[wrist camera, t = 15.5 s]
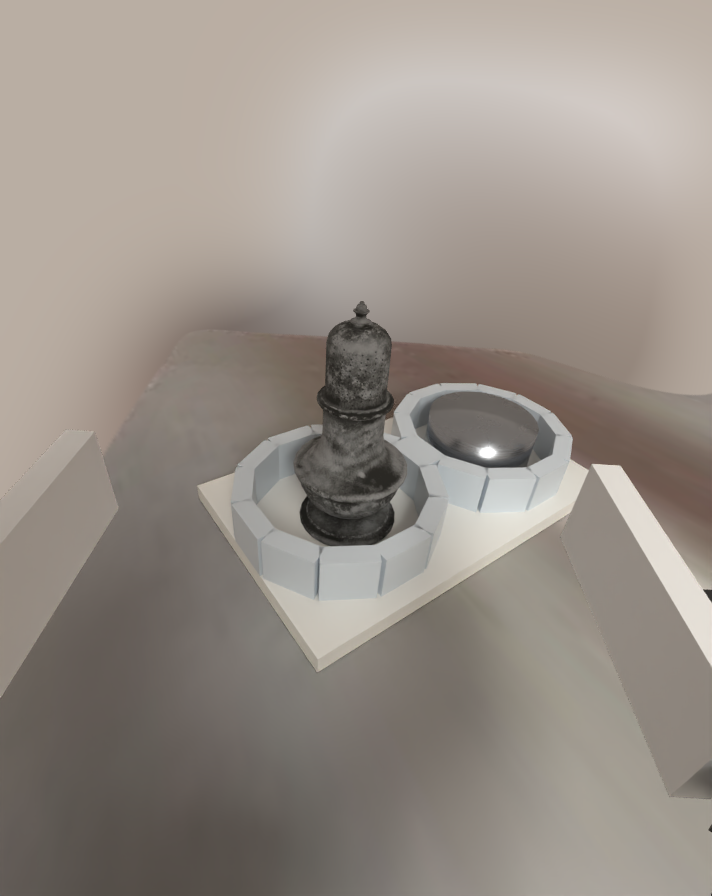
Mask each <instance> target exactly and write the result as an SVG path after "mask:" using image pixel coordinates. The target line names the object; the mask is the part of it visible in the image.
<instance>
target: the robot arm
mask: <svg viewBox="0 0 712 896" xmlns="http://www.w3.org/2000/svg"><path fill="white" fill-rule="evenodd" d="M118 509H119V507H118V504H117V501H116V498H115V494H114V491H113V488H112V485H111V482H110V478H109V475H108V472H107V469H106V465H105V462H104V459H103V456H102V452H101V449H100V446H99V443H98V440H97V437H96V433H95V431H81V430H65V431H64V432H63V433H62V434H61V435H60V436H59V437H58V438H57V440H56V441H55V442H54V443H53V444H52V445H51V446H50V447H49V448H48V449H47V450H46V451H45V452H44V453H43V454H42V456H41V457H40V458H39V459H38V460H37V461H36V462H35V463H34V464H33V465H32V466H31V467H30V468H29V470H28V471H27V472H26V473H25V474H24V475H23V476H22V477H21V478H20V479H19V480H18V481H17V482H16V483H15V484H14V486H13V487H12V488H11V489H10V490H9V491H8V492H7V493H6V494H5V495H4V496H3V497H2V498H1V499H0V698H1V697H2V695H3V694H4V692H5V690H6V689H7V687H8V686H9V684H10V682H11V681H12V679H13V678H14V676H15V674H16V673H17V671H18V670H19V668H20V666H21V665H22V663H23V662H24V660H25V658H26V657H27V655H28V654H29V652H30V650H31V649H32V647H33V645H34V644H35V642H36V641H37V639H38V637H39V636H40V634H41V633H42V631H43V629H44V628H45V626H46V625H47V623H48V621H49V620H50V618H51V617H52V615H53V613H54V612H55V610H56V609H57V607H58V605H59V604H60V602H61V601H62V599H63V597H64V596H65V594H66V593H67V591H68V589H69V588H70V586H71V585H72V583H73V581H74V580H75V578H76V577H77V575H78V573H79V572H80V570H81V569H82V567H83V565H84V564H85V562H86V561H87V559H88V557H89V556H90V554H91V553H92V551H93V549H94V548H95V546H96V545H97V543H98V541H99V540H100V538H101V537H102V535H103V533H104V532H105V530H106V529H107V527H108V525H109V524H110V522H111V520H112V519H113V517H114V516H115V514H116V512H117V511H118ZM560 538H561V540H562V543H563V545H564V547H565V550H566V552H567V555H568V557H569V559H570V562H571V564H572V566H573V569H574V571H575V574H576V576H577V578H578V581H579V583H580V585H581V588H582V590H583V593H584V595H585V597H586V600H587V602H588V604H589V607H590V609H591V612H592V614H593V616H594V619H595V621H596V623H597V626H598V628H599V631H600V633H601V635H602V638H603V640H604V642H605V645H606V647H607V650H608V652H609V654H610V657H611V659H612V661H613V664H614V666H615V669H616V671H617V673H618V676H619V678H620V680H621V683H622V685H623V688H624V690H625V692H626V695H627V697H628V700H629V702H630V704H631V707H632V709H633V711H634V714H635V716H636V719H637V721H638V723H639V726H640V728H641V730H642V733H643V735H644V738H645V740H646V742H647V745H648V747H649V749H650V752H651V754H652V757H653V759H654V761H655V764H656V766H657V768H658V771H659V773H660V776H661V778H662V780H663V783H664V785H665V787H666V790H667V792H668V795H669V797H683V798H699V799H711V798H712V590H704V589H702V588H701V586H700V585H699V583H698V582H697V580H696V579H695V577H694V576H693V574H692V573H691V571H690V570H689V568H688V567H687V565H686V564H685V562H684V561H683V559H682V558H681V556H680V555H679V553H678V552H677V550H676V549H675V547H674V545H673V544H672V542H671V541H670V539H669V538H668V536H667V535H666V533H665V532H664V530H663V529H662V527H661V526H660V524H659V523H658V521H657V520H656V518H655V517H654V515H653V514H652V512H651V511H650V509H649V508H648V506H647V505H646V503H645V502H644V500H643V499H642V497H641V496H640V494H639V493H638V491H637V490H636V488H635V487H634V485H633V484H632V482H631V481H630V479H629V478H628V476H627V475H626V473H625V472H624V470H623V469H622V467H621V466H616V465H601V464H591V467H590V469H589V471H588V474H587V476H586V478H585V481H584V483H583V485H582V487H581V490H580V492H579V494H578V497H577V499H576V501H575V504H574V506H573V508H572V511H571V513H570V515H569V518H568V520H567V522H566V525H565V527H564V529H563V532H562V534H561V536H560ZM709 831H711V832H712V825H711V826H710V828H709ZM711 896H712V894H711Z"/></svg>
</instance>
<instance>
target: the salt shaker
mask: <svg viewBox="0 0 712 896" xmlns="http://www.w3.org/2000/svg"><path fill="white" fill-rule="evenodd" d="M353 311H354V312H355V313H356V318H352V319H351V320H348V321H344V322H342V323H340V324H338V325H336V326H335V327H334V328H333V329H332V330H331V331H330V333H329V335H328V338H327V342H326V378H325V386H324V387H322V388H321V390H320V391H319V392H318V394H317V402H318V404H319V405H320V407H321V408H322V409H323V430H322V435H321V436H318V437H316V438H313V439H311V440H310V441H308V442H307V443H305V444H304V445H303V446H302V447H301V448H300V449H299V451H298V452H297V453H296V456H295V459H294V471H295V474H296V476H297V478H298V479H299V481H300V482H301V486H302V487H303V489H304V491H305V493H306V495H307V496H306V498H305V499H304V501H303V502H302V505H301V509H300V519H301V523H302V525H303V527H304V529H305V530H306V531H307V532H308V533H309V534H310V535H311V536H312V537H313V538H314V539H316V540H318V541H319V542H321V543H323V544H325V545H329V546H360V545H373V544H375V543H377V542H379V541H380V540H382V539H384V538H385V537H386V535H387V534H388V533H389V532H390V531H391V529H392V526H393V524H394V514H395V512H394V510H393V507H392V504H391V503H390V501H391V500H392V498H393V497H394V496H395V494H396V492H397V490H398V488H399V487H400V486H401V485H402V484H403V483H404V481H405V478H406V476H407V463H406V460H405V458H404V456H403V454H402V453H401V452H400V451H399V450H398V449H397V448H396V447H395V446H394V445H392V444H391V443H389V442H388V441H386V440H384V436H383V434H384V425H385V416H386V413H388V412H389V411H390V410H391V409H392V407H393V404H394V399H393V397H392V395H391V394H390V393H389V392H388V391H387V384H388V375H389V366H390V357H391V347H392V344H391V338H390V336H389V335H388V333H387V331H386V330H385V329H383V328H382V327H381V326H379V325H378V324H376V323H374V322H371V320H369V319H367V318H366V315H367V314H368V313H369V310H368V309H367V306H366V305H365V304H364V302H363V301H361V302H360V304H358V305H357V307H356V309H354V310H353Z"/></svg>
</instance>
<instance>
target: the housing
mask: <svg viewBox="0 0 712 896" xmlns="http://www.w3.org/2000/svg"><path fill="white" fill-rule="evenodd" d="M465 391H470V392H482V393H488V394H492V395H496V396H499V397H502V398H505V399H508V400H510V401H512V402H514V403H516V404H518V405H520V406H521V407H523V408H524V409H526V410H527V411H528V412H529V413H530V414H531V415H532V416H533V417H534V418H535V420H536V421H537V424H538V427H539V431H538V435H537V438H536V441H535V444H534V447H533V450H532V453H531V455H530V458H529V461H528V464H527V467H523V468H485V467H482V466H478V465H475V464H472V463H468V462H465V461H462V460H458V459H455V458H452V457H448V456H445V455H444V454H442V453H441V452H440V451H438V450H437V449H435V448H434V447H433V446H431V445H430V444H428V443H427V442H426V441H425V435H426V430H427V424H428V419H429V413H430V408H431V405H432V403H433V402H434V401H435V400H436V399H438V398H439V397H441V396H443V395H446V394H449V393H454V392H465ZM322 430H323V425H311V428H310V427H309V426H308V425H307V426H304V427H300V428H297V429H294V430H291V431H288V432H285V433H282V434H279V435H276V436H272V437H269V438H268V441H267V440H264V441H263V442H262V443H261V444H259V445H258V446H257V447H256V448H255V449H254V450H253V451H252V452H251V453H250V454H248V455H247V456H246V457H245V458H244V459H243V460H242V461H241V462H240V463H239V464H237V467H236V469H235V473H232V474H229V475H226V476H223V477H220V478H217V479H215V480H212V481H209V482H206V483H203V484H200V485H197V488H198V494H199V499H200V500H201V502H202V503H203V505H204V506H205V508H206V509H207V511H208V512H209V514H210V515H211V517H212V518H213V520H214V521H215V523H216V524H217V526H218V527H219V528H220V530H221V531H222V533H223V534H224V536H225V537H226V539H227V540H228V542H229V543H230V545H231V546H232V548H233V549H234V551H235V552H236V554H237V555H238V557H239V558H240V559H241V561H242V562H243V564H244V565H245V567H246V568H247V570H248V571H249V573H250V574H251V576H252V577H253V579H254V580H255V582H256V583H257V585H258V586H259V588H260V589H261V590H262V592H263V593H264V595H265V596H266V598H267V599H268V601H269V602H270V604H271V605H272V607H273V608H274V610H275V611H276V613H277V614H278V616H279V617H280V618H281V620H282V621H283V623H284V624H285V626H286V627H287V629H288V630H289V632H290V633H291V635H292V636H293V638H294V639H295V641H296V642H297V644H298V645H299V647H300V648H301V649H302V651H303V652H304V654H305V655H306V657H307V658H308V660H309V661H310V663H311V664H312V666H313V667H314V669H315V670H316V672H317V673H318V672H319V671H321V670H322V669H324V668H326V667H327V666H329V665H330V664H332V663H333V662H335V661H337V660H338V659H340V658H341V657H343V656H345V655H346V654H348V653H349V652H351V651H352V650H354V649H356V648H357V647H359V646H360V645H362V644H364V643H365V642H367V641H368V640H370V639H371V638H373V637H375V636H376V635H378V634H379V633H381V632H382V631H384V630H386V629H387V628H389V627H390V626H392V625H394V624H395V623H397V622H398V621H400V620H401V619H403V618H405V617H406V616H408V615H409V614H411V613H412V612H414V611H416V610H417V609H419V608H420V607H422V606H424V605H425V604H427V603H428V602H430V601H431V600H433V599H435V598H436V597H438V596H439V595H441V594H443V593H444V592H446V591H447V590H449V589H450V588H452V587H454V586H455V585H457V584H458V583H460V582H461V581H463V580H465V579H466V578H468V577H469V576H471V575H473V574H474V573H476V572H477V571H479V570H480V569H482V568H484V567H485V566H487V565H488V564H490V563H492V562H493V561H495V560H496V559H498V558H499V557H501V556H503V555H504V554H506V553H507V552H509V551H510V550H512V549H514V548H515V547H517V546H518V545H520V544H522V543H523V542H525V541H526V540H528V539H529V538H531V537H533V536H534V535H536V534H537V533H539V532H540V531H542V530H544V529H545V528H547V527H548V526H550V525H552V524H553V523H555V522H556V521H558V520H559V519H561V518H563V517H564V516H566V515H567V514H569V513H571V511H572V508H573V506H574V504H575V501H576V499H577V497H578V494H579V492H580V490H581V487H582V485H583V483H584V481H585V478H586V476H587V474H588V471H589V470H587V469H586V468H584V467H582V466H581V465H579V464H577V463H576V462H574V461H572V460H571V459H570V456H571V448H572V440H573V438H571V437H572V435H571V434H570V433H569V432H568V430H567V429H566V428H565V427H564V425H563V424H562V423H561V422H560V421H559V419H558V418H557V417H556V416H555V415H554V413H551V411H549V410H547V409H546V408H544V407H542V406H540V405H538V404H536V403H534V402H533V401H531V400H529V399H527V398H525V397H523V396H521V395H520V394H519V395H516V393H513V392H509V391H505V390H501V389H497V388H493V387H489V386H485V385H481V384H479V385H478V386H477V385H476V384H475V383H440V385H439V384H434V385H431V386H428V387H425V388H422V389H419V390H416V391H413V392H409V394H407V395H406V396H405V398H404V399H403V400H402V402H401V403H400V404H399V406H398V407H397V408H396V410H395V411H394V416H393V418H390V419H387V420H385V425H384V434H383V436H384V440H386V441H388V442H389V443H391V444H392V445H394V446H395V447H396V448H397V449H398V450H399V451H400V452H401V453H402V454H403V456H404V458H405V460H406V463H407V476H406V478H405V481H404V483H403V484H402V485H401V486H400V487H399V488H398V490H397V492H396V494H395V496H394V497H393V498H392V500H391V501H390V503H391V504H392V507H393V510H394V512H395V514H394V524H393V526H392V529H391V531H390V532H389V533H388V534H387V535H386V537H385V538H384V539H382V540H380V541H379V542H377V543H375V544H373V545H360V546H329V545H325V544H323V543H321V542H319V541H318V540H316V539H314V538H313V537H312V536H311V535H310V534H309V533H308V532H307V531H306V530H305V529H304V527H303V525H302V523H301V519H300V509H301V505H302V502H303V501H304V499H305V498H306V496H307V495H306V493H305V491H304V489H303V487H302V486H301V482H300V481H299V479H298V478H297V476H296V474H295V471H294V459H295V456H296V453H297V452H298V451H299V449H300V448H301V447H302V446H303V445H304V444H305V443H307V442H308V441H310V440H311V439H313V438H316V437H318V436H321V435H322Z"/></svg>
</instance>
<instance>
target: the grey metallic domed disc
mask: <svg viewBox="0 0 712 896" xmlns="http://www.w3.org/2000/svg"><path fill="white" fill-rule="evenodd" d="M538 431H539V427H538V424H537V421H536V420H535V418H534V417H533V416H532V415H531V414H530V413H529V412H528V411H527V410H526V409H524V408H523V407H521V406H520V405H518V404H516V403H514V402H512V401H510V400H508V399H505V398H502V397H499V396H496V395H492V394H488V393H482V392H470V391H465V392H454V393H449V394H446V395H443V396H441V397H439V398H438V399H436V400H435V401H434V402H433V403H432V405H431V408H430V413H429V419H428V424H427V430H426V435H425V441H426V442H427V443H428V444H430V445H431V446H433V447H434V448H435V449H437V450H438V451H440V452H441V453H442V454H444V455H445V456H448V457H452V458H455V459H458V460H462V461H465V462H468V463H472V464H475V465H478V466H482V467H485V468H523V467H527V464H528V461H529V458H530V455H531V453H532V450H533V447H534V444H535V441H536V438H537V435H538Z"/></svg>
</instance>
